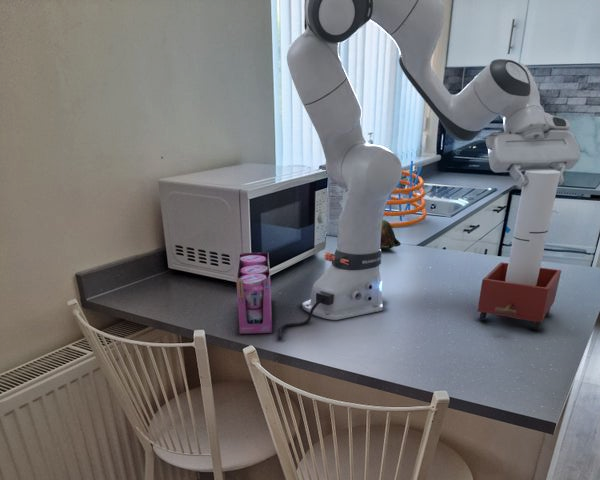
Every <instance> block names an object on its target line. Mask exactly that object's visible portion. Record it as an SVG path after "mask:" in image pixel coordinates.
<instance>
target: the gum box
mask: <svg viewBox="0 0 600 480" xmlns="http://www.w3.org/2000/svg"><path fill="white" fill-rule="evenodd" d="M269 255H270V253H269V251H268V252H264V251H263V252H262V251H261V252H241V253H239V257H238V267H237V273H236V278H235V279H236V295H237V308H238V309H237V310H238V327H239V334H240V335H241V334H271V333H272V329H273V327H272V325H273V324H272V291H271V269H270V268H271V267H270V256H269Z"/></svg>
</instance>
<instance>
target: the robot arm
mask: <svg viewBox="0 0 600 480" xmlns="http://www.w3.org/2000/svg"><path fill="white" fill-rule="evenodd" d="M445 17H446V9H445V4H444V1H443V0H304V21H303V23H304V24H303V25H304V26H303V27H304V28H303V29H304V32H303V33H302V34H301V35H300V36H298V37H297V38H296V39H294V41H293V42H292V43H291V45H290V46H289V48H288V50H287V53H286V63H287V66H288V70H289V73H290V76H291V80H292V82H293V86H294V88H295V90H296V93H297V95H298V97H299V99H300V102H301V104H302V106H303V107H304V109H305V111H306V113H307V115H308V118H309V119H310V121H311V123H312V126H313V128H314V130H315V132H316V134H317V135H318V136H317V137H318V139H319V141H320V144H321V148H322V151H323V155H324V159H325V164H326V171H327V174H328V176H329V177H330V179H331V180H332V181H333V182H334V183H335V184H337V185H338V186H339V187H341V188H344V189H347V190H348V195H347V200H346V204H345V207H344V210H343V212H342V213H341V214H340V216H339V218H338V236H337V240H336V241H337V244H336V249H335V251H334V254H333V253H330V252H326V253H325V254H324V260H325V261H327V262H331V265H330V267H328V269H326V271H325V272H323V273H322V274H321V276H320V277H319V278H318V279H317V280H316V281H315V282H314V283H313V284H312V288H311V293H310V299H308V300H305V301H303V302H302V305H301V307H302V309H303V310H304V311H305V312H307V313H309V314H308V317H307V319H306V320H304V321H303V322H298V323H296V322H292V323H290V322H289V323H285V324H283V325H281V326H280V327H279V329H278V340H282V338H283V330H284V329H285V328H288V327H300V326H304V325H307V324H308V323H310V321H311V320H312V317H313V316H315V317H318V318H320V319H321V318H322V319H325V320H331V321H338V320H339V321H340V320H343V319H348V318H352V317H353V318H354V317H358V316H362V315H367V314H372V313H377V312H381V311H383V310H384V305H383V304H384V299H383V296H382V295H383V294H382V285H383V280H381V272H380V265H381V264H382V258H383V257H382V250H383V249H380V242H381V228H382V219H384V216H383V214H384V211H385V212H386V208H387V205H386V204H387V201H389V200H388V199H389V196H390V194H391V193H392V192H393V191H394V190H395V189H396V188H398V184H399V182H400V180H402V176H403V175H402V170H403V166H402V163H401V160H400V158H399V157H398V155H396V154H395V153H394V152H393V151H392V150H390V149H388V148H387V147H385V146H382V145H377V144H372V143H369V142H368V141H367V140H366V139H367V138H366V137H365V135H364V132H363V128H362V127H363V126H362V120H361V119H362V115H363V110H362V109H363V108H362V106H361V104H360V102H359V100H358V97H357V94H356V93H355V90H354V88H353V86H352V84H351V81H350V79H349V77H348V74H347V72H346V70H345V67H344V66H343V63H342V61H341V57H340V54H339V44H341V43H345V42H347V41H348V40H349V39H351V38H352V37H353V36H355V35H356V34H357V32H358V31H359V30H361V28H363V27H364V26H365V25H366V24H367V23H368V22H372V23H374V25H376V26H378V27H379V28H380V29H381V30H382V31H384V33H385V34H387V35H388V36H389V37H390V38H391V39H392V40H393V42H394V43H395V45H396V46H397V48H398V51H399V57H398V63H399V66H400V69H401V70H402V73H403V74H404V75H405V77H406V78H407V80H408V81H409V83H410V84H411V86H412V87H413V88H414V90H415V91H416V92H417V93H418V94H419V96H420V97H421V98H422V99H423V101H424V102H425V103H426V104H427V105H428V107H429V108H430V109H431V111H432V112H433V114H435V116H436V117H437V118H438V120H439V121H440V123H441V125H442V127H443V128H444V130H445V131H446V133H447V135H449V137H451V139H453V140H455V141H458V142H459V141H460V142H470V141H473V140H474V139H475V138H476V137H477V136H478V135H479V134H481V132H482V131H483V130H484V129H485V128H486V127H487V126H488V125H489V124H490V123H491V122H493V121H494V120H495V119H496V118H497V117H498V116H499V117H500V118H501V119H502V121H503V126H502V129H503V131H501V132H497V131H494V132H491V133H489V134H488V135H487V136H486V137H485V144H486V148H487V150H488V151H487V153H488V164H489V168H490V170H491V171H492V172H493V173H509V176H510V177H511V178H513V180H514V181H516V182H517V186H518V188H522V187H525V186H526V185H527V184H528V183H529V180H528V178H527V176H524V175H525V174H523V172H525V171H526V170H530V169H548V170H557V171H560V177H559V182H558V186H561V185H563V183H564V182H565V179H564V175H563V174H564V172H565V170H572V169H573V168H574V167H575V166H576V165H577V163H578V162H579V161H580V159H581V156H582V155H581V150H580V147H579V144H578V141H577V139H576V136H575V135H574V133H573V132H572V131H571V130H569V129H570V128H571V123H570V121H569V120H568V119H566V118H563V117H558V116H556V115H554V114H553V115H552V114H551V113H549V112H545V108H544V107H543V106H542V105H541V95H540V92H539V89H538V86H537V84H536V81H535V79H534V76H533V75H532V72H531V71H530V70H529V68H528V67H527V66H526V64H524V63H521V62H517V61H515V60H512V59H506V58H497V59H494V60H491V62H489V63H488V64H487V65H486V66H485V67H484V68H483V69H482V70H481V71H480V72H479V73H477V75H476V76H474V78H473V79H472V80H471V81H470V82H469V83H468V84H467V85H466V86H465V87H464V88H463V89H461V91H460V92H458V93H456V94H452V93H450V91H449V90H448V89H447V87H446V86H445V85H444V83H442V81H441V80H440V79H439V77H438V76H437V75H436V73H435V71H433V68H432V65H431V61H432V58H433V55H434V53H435V50H436V48H437V46H438V44H439V41H440V38H441V35H442V32H443V30H444V24H445V20H446V19H445ZM391 195H392V194H391ZM385 207H386V208H385Z"/></svg>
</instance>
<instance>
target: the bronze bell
mask: <svg viewBox="0 0 600 480" xmlns="http://www.w3.org/2000/svg"><path fill="white" fill-rule="evenodd" d="M390 223H391V222H389V221H388V220H387V219H384V218H383V219H382V228H381V242H380V249H381V250H385V251H387V250H389V249H393V248H398V247H400V246H401V244H402V243H401V241H399V240H398V239H397V238H396V234H395V231H394V229H393V227H391V225H390Z"/></svg>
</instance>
